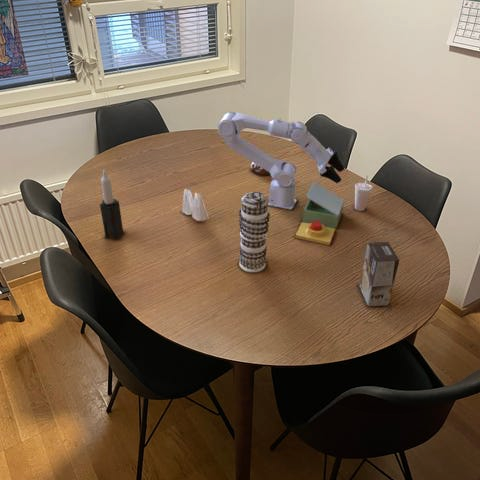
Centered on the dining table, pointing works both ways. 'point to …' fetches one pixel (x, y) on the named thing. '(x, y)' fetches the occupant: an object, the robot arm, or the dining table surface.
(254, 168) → the cartoon dung pile
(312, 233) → the yellow button base
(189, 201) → the shaker set
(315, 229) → the button
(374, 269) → the coffee box
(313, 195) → the pale blue lid
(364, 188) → the smoothie
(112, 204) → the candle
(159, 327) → the dining table surface
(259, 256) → the plaid banded cylinder
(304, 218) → the panel
